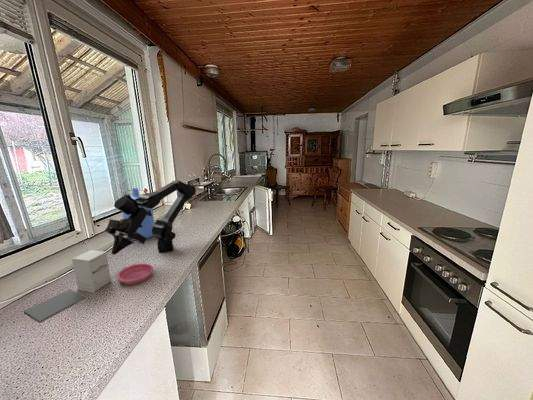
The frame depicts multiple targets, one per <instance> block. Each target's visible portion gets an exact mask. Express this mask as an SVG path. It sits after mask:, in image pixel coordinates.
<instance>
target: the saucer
mask: <svg viewBox="0 0 533 400" xmlns="http://www.w3.org/2000/svg"><path fill="white" fill-rule="evenodd" d="M153 272H154V266H153V265H151V264H149V263H136V264H131V265H130V266H126V267H124V268H123V269H122V270H120V271H119V272H118V273H117V275H116V278H117V281H118V282H120V283H122V284H124V285H128V286H131V285H132V286H133V285H137V284H141V283H143V282H145V281H147V280H148V279H149V277H150V276H151V275H152V274H153Z"/></svg>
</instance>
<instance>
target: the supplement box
mask: <svg viewBox="0 0 533 400" xmlns="http://www.w3.org/2000/svg"><path fill="white" fill-rule="evenodd" d="M108 260H109V259H108V255H107V251H102V250H93V249H91V250H89V251H87V252H84V253H82V254H79V255H77V256H75V257H73V258H72V259H71V262H72V266H73V272H74V277H75V282H76V286H77V290H79V291H85V292H91V293H96V291H97V290H99V289H101V288H102V287H104V286H105V285H106V284H108V283H110V282H112V280H111V273H110V269H109V266H110V265H109V261H108Z"/></svg>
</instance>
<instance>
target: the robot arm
mask: <svg viewBox="0 0 533 400" xmlns="http://www.w3.org/2000/svg"><path fill="white" fill-rule="evenodd" d="M176 191H177V197H176V199H175V200H174V201H173V203H172V205H171V206H170V208H169V210H168V211H167V212H166V214H165V216H164V217H163V218H162V219H156V221H154V223H155V224H154V225H153V226H152V227H153V228H152V234H153V237H154V238H155V239H157V240H158V241H157V243H156V245H157V251H158V253H159V254H161V253H167V252H174V243H173V240H174V239H176V235H177V234H176V233H175V232H174V231H172V230H173V223H174V222H175V220H176V218H177V217H178V215H179V214H180V212H181V210H183V207H184V206H185V204H186V202H187V201H189V200H190V199H192V198H193V197H194V196H195V194H196V192H197V190H196V187H195V186H194V185H193V184H188V183H185V182H183V181H180V180H172V181H171V182H169V183H168V184H166V185H164V186H162V187H160V188H158V189H157V190H155V191H151V192H147V193H144V194H141V195H140V196H139V198H137V199H133V198H131V197H132V196H131V195H130V194H124V195H123V196H122V197H119V198H118V199H117V200H115V202H114V205H113V206H114V208H115V209H117V210H119V211H120V212H121V213H122V212H123V213H125V214H126V215H130V216H129V217H128V219H126V218H125V219H123V218H121V219H114V218H113V219H111V218H109V221H108V224H107V226H106V228H104V232H106V233H108V234H109V235H111V236H112V237H113V239H114V242H113V245H112V250H111V254H112V255H117V254H118V253H119V252H121V251H122V250H123V249H125V248H127V247H128V246H130V245H131V244H134V241H137V242H138V243H139V244H142V245H145V243H146V242H147V238H146V237H144V236H143V235H141V234H139V233H137V232H136V231H137V230H138V228H142V225H141V224H142V222H143V220H144V219H145V217H146V216H152V214H151V210H146V209H145V208H153V209H155V207H157V206H158V205H159V204H160V203H161V201H162V200H164V199H165V198H166V197H168V196H169V195H171V194H173V193H174V192H176ZM139 206H141V207H139ZM143 207H145V208H143ZM134 239H135V240H134Z"/></svg>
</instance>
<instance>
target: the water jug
mask: <svg viewBox="0 0 533 400" xmlns="http://www.w3.org/2000/svg"><path fill="white" fill-rule="evenodd" d="M131 191H132V196H131V198H133V199H137V198H139V196H141V195H140V192H139V191H140V190H139V188H132V189H131ZM139 207H141V206H139ZM143 208H145V207H143ZM145 209H146V210H151V214H152V216H146V217H145V219H144V220H143V222H142V224H141V225H142V228H138V230H137V231H136V232H137V233H139V234H141V235H143V236H144V237H146V239H148V238H149V239H150V238H152V237H154V235H153V234H152V228H153V227H152V226H153V225H154V224H155V218H154V208H145ZM121 213H122V219H125V218H126V219H128V217H129V216H130V215H126V214H125V213H123V212H121ZM133 241H136V240H135V239H134V240H133Z"/></svg>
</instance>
